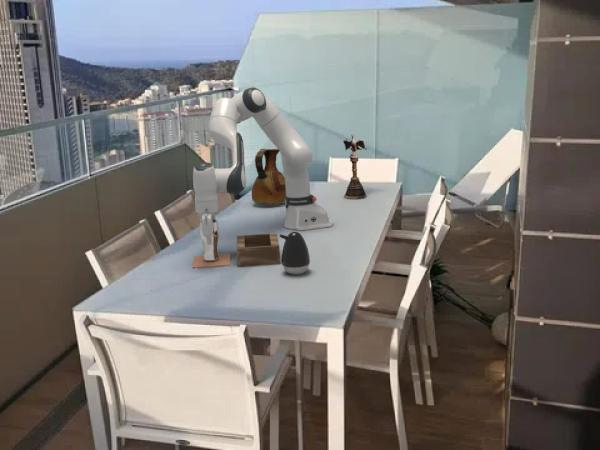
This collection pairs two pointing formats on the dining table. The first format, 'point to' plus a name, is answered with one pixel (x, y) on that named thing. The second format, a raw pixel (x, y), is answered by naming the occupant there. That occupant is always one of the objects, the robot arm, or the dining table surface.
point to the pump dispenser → (295, 254)
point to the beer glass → (212, 249)
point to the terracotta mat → (222, 261)
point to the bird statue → (354, 170)
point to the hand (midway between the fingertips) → (210, 241)
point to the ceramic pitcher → (268, 179)
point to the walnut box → (258, 249)
